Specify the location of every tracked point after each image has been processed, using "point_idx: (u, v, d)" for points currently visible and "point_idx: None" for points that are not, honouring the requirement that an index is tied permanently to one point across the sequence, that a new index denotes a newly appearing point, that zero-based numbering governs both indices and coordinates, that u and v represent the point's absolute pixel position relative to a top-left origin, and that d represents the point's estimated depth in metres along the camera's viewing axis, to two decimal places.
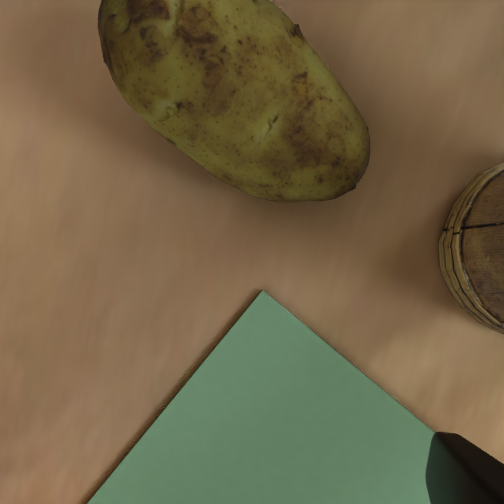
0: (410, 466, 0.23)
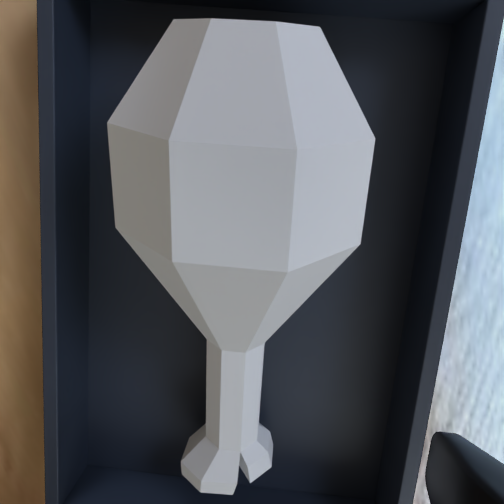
0: None
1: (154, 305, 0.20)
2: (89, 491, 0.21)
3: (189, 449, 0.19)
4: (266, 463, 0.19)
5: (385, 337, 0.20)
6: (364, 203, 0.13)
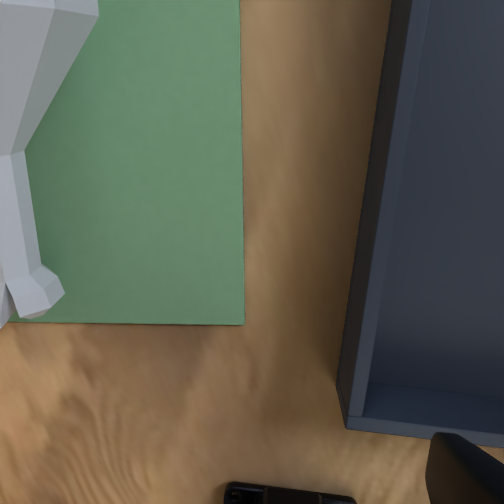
0: None
1: (454, 197, 0.18)
2: (376, 401, 0.19)
3: None
4: (41, 301, 0.18)
5: None
6: None
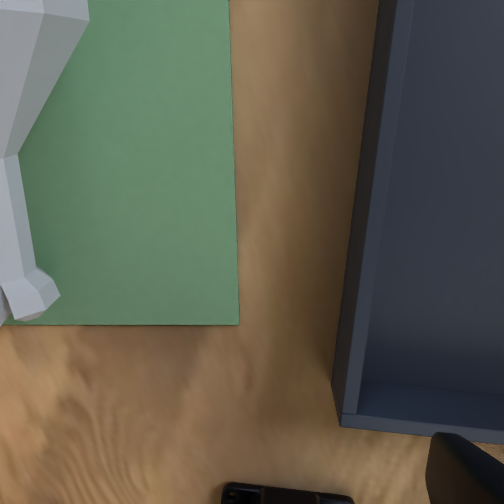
0: None
1: (444, 194, 0.19)
2: (370, 399, 0.19)
3: None
4: (36, 303, 0.18)
5: None
6: None
